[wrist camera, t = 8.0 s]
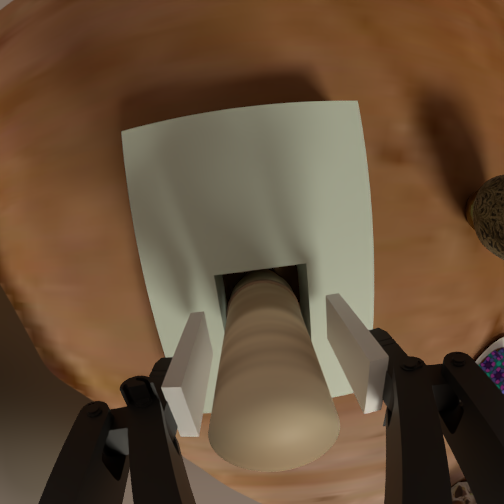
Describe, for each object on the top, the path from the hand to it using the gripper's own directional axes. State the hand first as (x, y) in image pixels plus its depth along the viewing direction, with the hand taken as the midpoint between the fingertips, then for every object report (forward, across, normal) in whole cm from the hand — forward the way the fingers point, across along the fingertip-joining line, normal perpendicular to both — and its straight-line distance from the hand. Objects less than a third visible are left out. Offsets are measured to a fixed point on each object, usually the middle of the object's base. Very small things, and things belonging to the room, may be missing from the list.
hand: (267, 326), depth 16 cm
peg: (+6, 0, 0) cm, 6 cm away
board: (+6, 0, +2) cm, 6 cm away
